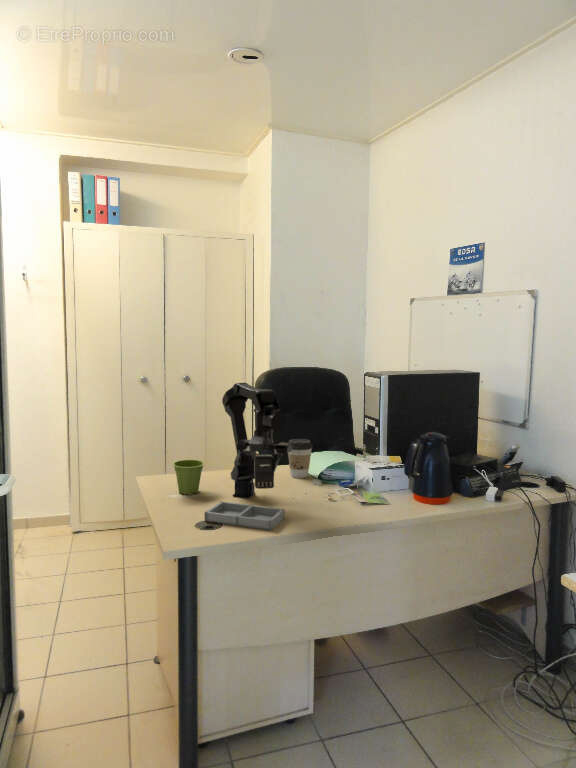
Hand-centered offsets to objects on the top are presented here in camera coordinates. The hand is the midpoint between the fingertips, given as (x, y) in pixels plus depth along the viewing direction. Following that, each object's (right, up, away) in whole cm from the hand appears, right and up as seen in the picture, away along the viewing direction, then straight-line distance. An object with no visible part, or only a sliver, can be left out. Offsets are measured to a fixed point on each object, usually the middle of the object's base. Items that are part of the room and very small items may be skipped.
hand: (263, 470), depth 187 cm
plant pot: (-29, -11, +18) cm, 36 cm away
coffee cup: (+13, -9, +43) cm, 45 cm away
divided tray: (-6, -14, -11) cm, 19 cm away
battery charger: (0, -6, 0) cm, 6 cm away
